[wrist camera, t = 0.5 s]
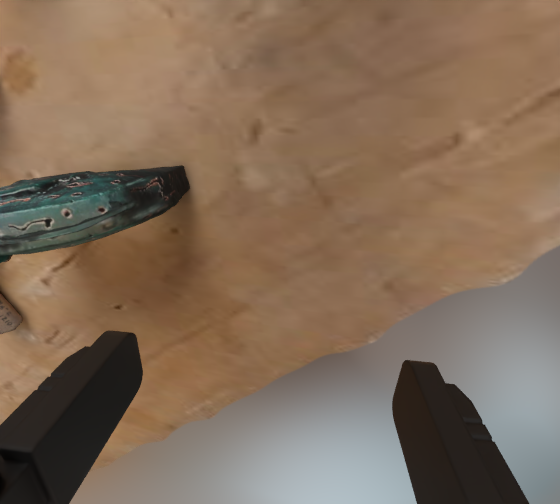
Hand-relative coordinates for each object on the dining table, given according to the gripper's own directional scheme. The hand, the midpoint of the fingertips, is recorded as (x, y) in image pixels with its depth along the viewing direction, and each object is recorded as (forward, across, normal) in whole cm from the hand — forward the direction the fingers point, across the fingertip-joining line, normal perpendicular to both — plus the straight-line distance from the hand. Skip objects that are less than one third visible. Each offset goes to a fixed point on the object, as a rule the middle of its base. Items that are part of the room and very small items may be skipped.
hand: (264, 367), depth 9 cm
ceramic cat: (+28, +22, +2) cm, 35 cm away
